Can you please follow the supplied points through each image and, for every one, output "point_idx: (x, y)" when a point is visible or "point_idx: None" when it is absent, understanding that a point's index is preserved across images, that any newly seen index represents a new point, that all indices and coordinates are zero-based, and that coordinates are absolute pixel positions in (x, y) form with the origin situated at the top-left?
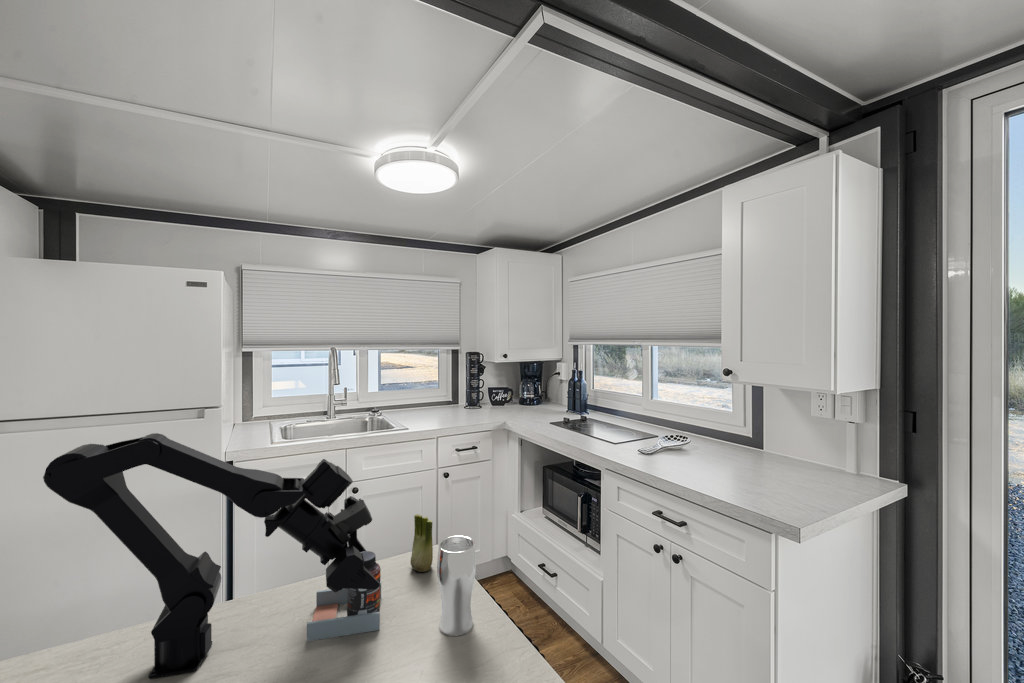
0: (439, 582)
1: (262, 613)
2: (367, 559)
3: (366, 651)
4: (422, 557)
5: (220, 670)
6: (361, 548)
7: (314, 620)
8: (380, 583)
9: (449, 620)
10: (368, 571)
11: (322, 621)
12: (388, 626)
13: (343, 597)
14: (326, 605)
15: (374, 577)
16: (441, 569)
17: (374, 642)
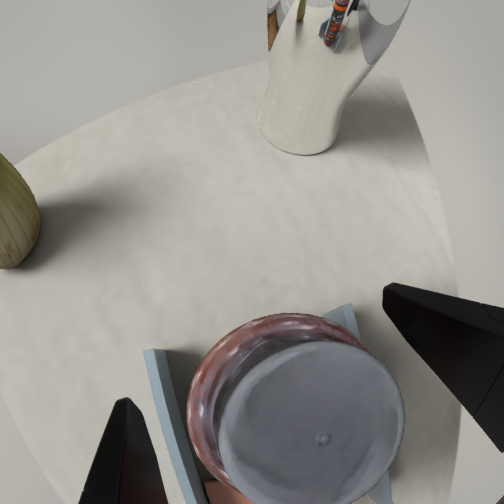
0: (371, 60)
1: None
2: (389, 381)
3: None
4: (17, 207)
5: None
6: (124, 497)
7: None
8: (148, 352)
9: (341, 114)
10: (478, 317)
11: (387, 472)
12: (313, 289)
13: (194, 477)
14: None
15: (419, 301)
16: (399, 20)
17: (378, 310)
